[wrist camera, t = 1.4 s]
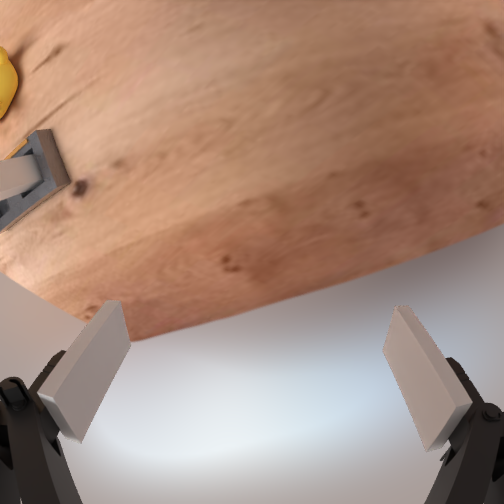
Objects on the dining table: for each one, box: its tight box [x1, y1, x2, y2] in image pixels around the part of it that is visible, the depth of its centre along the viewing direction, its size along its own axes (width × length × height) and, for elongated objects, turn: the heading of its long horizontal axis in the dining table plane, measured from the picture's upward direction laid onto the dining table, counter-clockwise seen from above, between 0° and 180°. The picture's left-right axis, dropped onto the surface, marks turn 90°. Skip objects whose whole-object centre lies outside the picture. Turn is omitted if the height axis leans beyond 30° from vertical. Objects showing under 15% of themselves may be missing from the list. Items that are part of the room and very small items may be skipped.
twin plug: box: [0, 154, 44, 201], centre depth 30 cm, size 4×4×12 cm
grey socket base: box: [0, 129, 71, 233], centre depth 36 cm, size 9×18×4 cm, turn 112°
